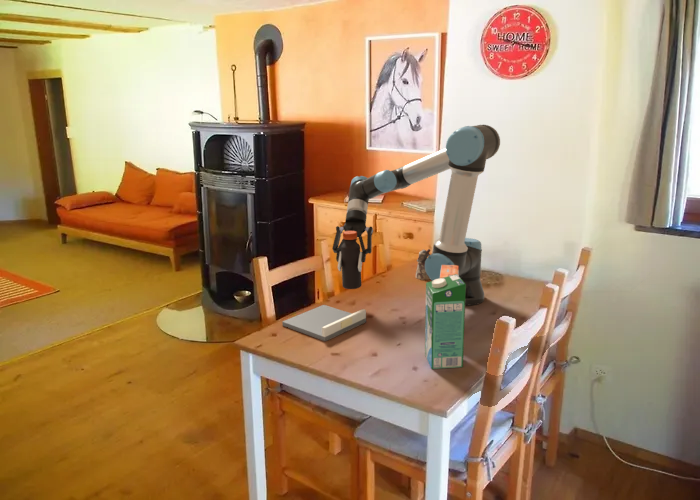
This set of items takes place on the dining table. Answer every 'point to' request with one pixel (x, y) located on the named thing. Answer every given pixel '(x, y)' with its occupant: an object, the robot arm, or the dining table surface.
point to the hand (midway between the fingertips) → (349, 269)
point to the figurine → (422, 265)
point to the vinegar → (350, 261)
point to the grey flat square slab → (325, 322)
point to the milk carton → (445, 322)
